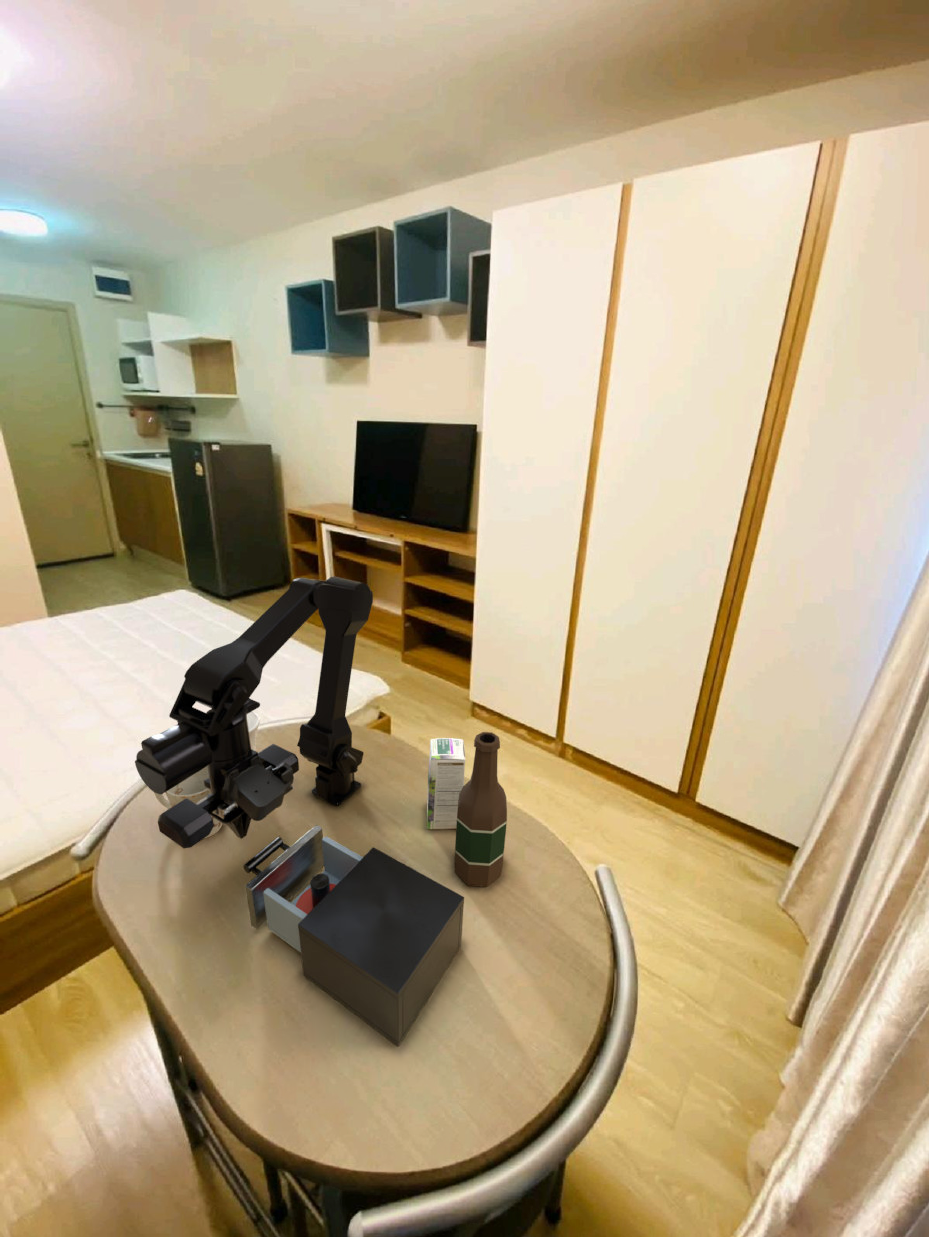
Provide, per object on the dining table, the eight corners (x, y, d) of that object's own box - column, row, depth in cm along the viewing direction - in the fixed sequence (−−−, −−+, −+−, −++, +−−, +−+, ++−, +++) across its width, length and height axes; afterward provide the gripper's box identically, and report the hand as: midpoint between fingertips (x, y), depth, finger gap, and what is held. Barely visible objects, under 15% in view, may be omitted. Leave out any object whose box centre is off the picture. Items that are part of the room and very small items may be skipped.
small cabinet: (303, 975, 64) (297, 924, 60) (374, 894, 75) (373, 846, 71) (398, 1047, 57) (398, 994, 54) (461, 946, 68) (464, 897, 65)
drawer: (226, 907, 71) (219, 868, 68) (296, 847, 81) (292, 811, 78) (326, 981, 63) (322, 940, 60) (390, 904, 73) (389, 865, 70)
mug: (209, 850, 81) (199, 800, 77) (139, 835, 83) (126, 785, 79) (241, 813, 88) (233, 765, 84) (176, 800, 90) (166, 752, 87)
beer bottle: (510, 858, 82) (523, 731, 73) (491, 897, 75) (503, 762, 66) (465, 841, 85) (473, 716, 76) (443, 876, 78) (449, 744, 69)
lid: (321, 878, 75) (319, 851, 73) (359, 901, 72) (358, 874, 70) (283, 915, 69) (280, 887, 67) (322, 942, 66) (319, 914, 64)
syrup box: (426, 805, 92) (428, 737, 86) (459, 805, 92) (463, 737, 87) (427, 830, 87) (428, 759, 81) (462, 829, 87) (466, 758, 82)
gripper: (202, 814, 59) (220, 912, 65) (322, 733, 74) (328, 819, 80) (144, 778, 64) (167, 871, 70) (268, 709, 79) (277, 791, 85)
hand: (241, 836), depth 76 cm, fingers closed
